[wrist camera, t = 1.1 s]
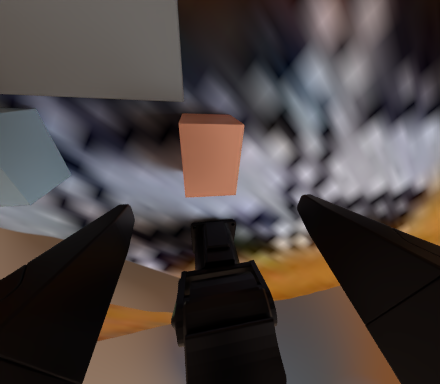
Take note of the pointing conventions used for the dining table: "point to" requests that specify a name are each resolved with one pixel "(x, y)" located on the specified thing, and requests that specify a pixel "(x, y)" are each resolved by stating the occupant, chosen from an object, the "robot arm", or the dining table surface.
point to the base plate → (91, 49)
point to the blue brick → (27, 158)
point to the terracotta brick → (210, 153)
